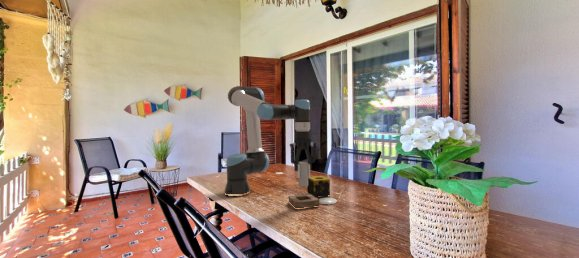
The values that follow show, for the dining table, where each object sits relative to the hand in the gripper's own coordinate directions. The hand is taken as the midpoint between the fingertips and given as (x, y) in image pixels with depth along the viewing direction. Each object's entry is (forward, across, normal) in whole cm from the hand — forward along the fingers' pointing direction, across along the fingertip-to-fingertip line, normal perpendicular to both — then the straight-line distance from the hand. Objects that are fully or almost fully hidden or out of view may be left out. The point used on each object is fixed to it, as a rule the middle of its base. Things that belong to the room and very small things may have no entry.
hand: (303, 176), depth 136 cm
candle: (+15, +14, +13) cm, 24 cm away
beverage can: (+5, 0, 0) cm, 5 cm away
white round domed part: (+14, +13, 0) cm, 19 cm away
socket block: (+14, 0, 0) cm, 14 cm away
